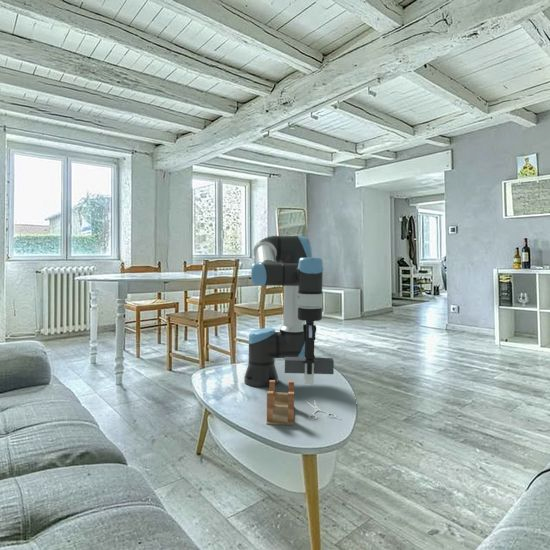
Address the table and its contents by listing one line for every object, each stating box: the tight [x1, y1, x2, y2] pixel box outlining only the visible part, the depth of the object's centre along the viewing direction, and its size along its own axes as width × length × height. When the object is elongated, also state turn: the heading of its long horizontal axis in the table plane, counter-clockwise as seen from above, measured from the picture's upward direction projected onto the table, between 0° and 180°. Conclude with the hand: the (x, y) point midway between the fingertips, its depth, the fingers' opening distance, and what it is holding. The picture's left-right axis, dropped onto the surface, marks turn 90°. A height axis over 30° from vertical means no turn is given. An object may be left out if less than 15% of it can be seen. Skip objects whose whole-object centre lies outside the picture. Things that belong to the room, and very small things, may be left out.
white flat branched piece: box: [305, 399, 341, 421], centre depth 140 cm, size 11×1×20 cm
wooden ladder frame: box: [265, 380, 295, 426], centre depth 134 cm, size 16×9×10 cm, turn 177°
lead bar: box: [284, 357, 335, 375], centre depth 120 cm, size 15×4×4 cm, turn 87°
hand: (308, 381), depth 120 cm, fingers closed on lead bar, 4 cm apart
